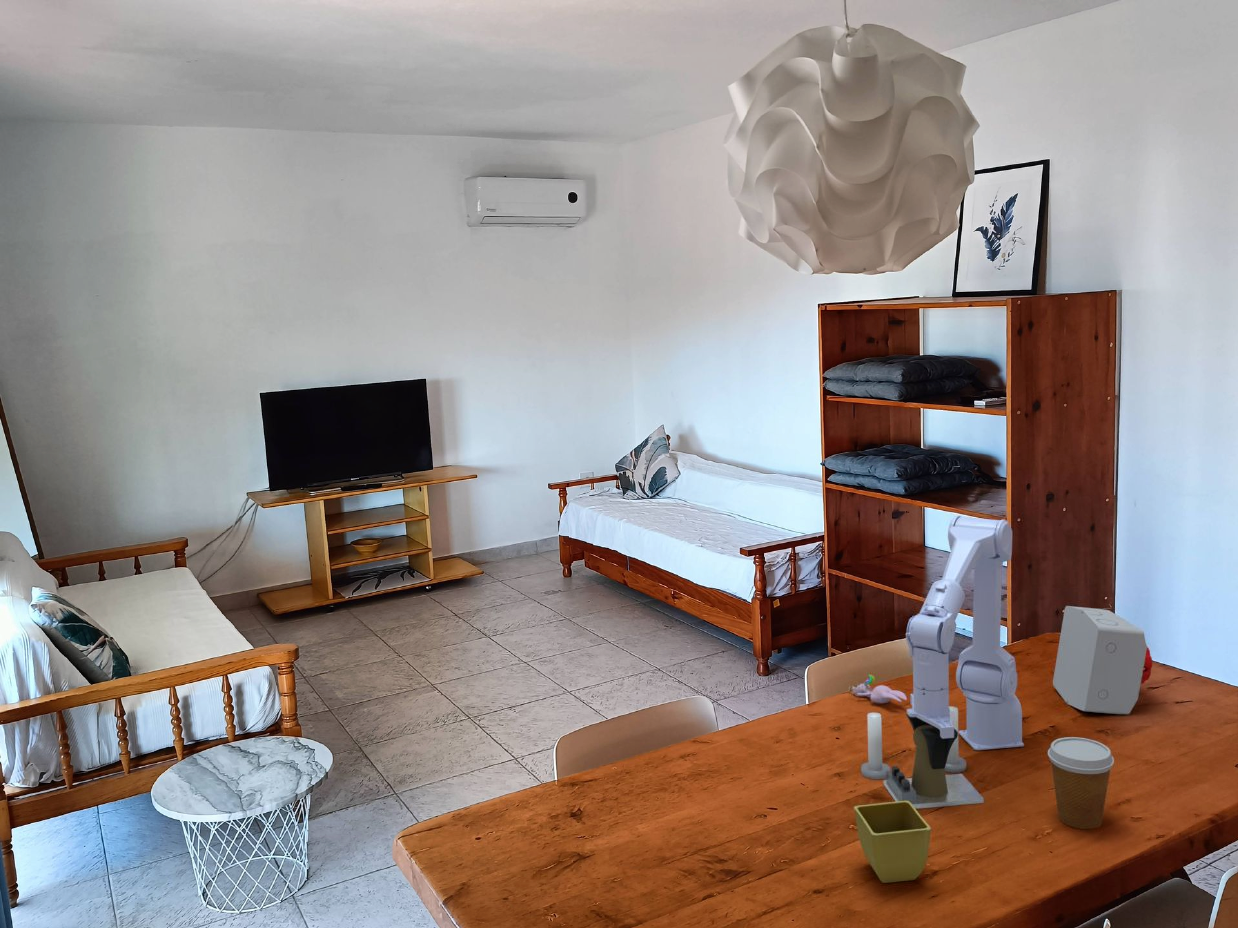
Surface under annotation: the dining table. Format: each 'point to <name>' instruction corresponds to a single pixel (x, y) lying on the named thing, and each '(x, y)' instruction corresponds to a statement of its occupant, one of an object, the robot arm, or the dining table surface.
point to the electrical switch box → (1100, 661)
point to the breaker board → (956, 795)
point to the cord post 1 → (874, 749)
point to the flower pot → (893, 839)
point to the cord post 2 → (954, 748)
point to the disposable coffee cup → (1080, 780)
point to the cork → (926, 769)
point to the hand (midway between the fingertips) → (931, 760)
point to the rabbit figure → (877, 692)
